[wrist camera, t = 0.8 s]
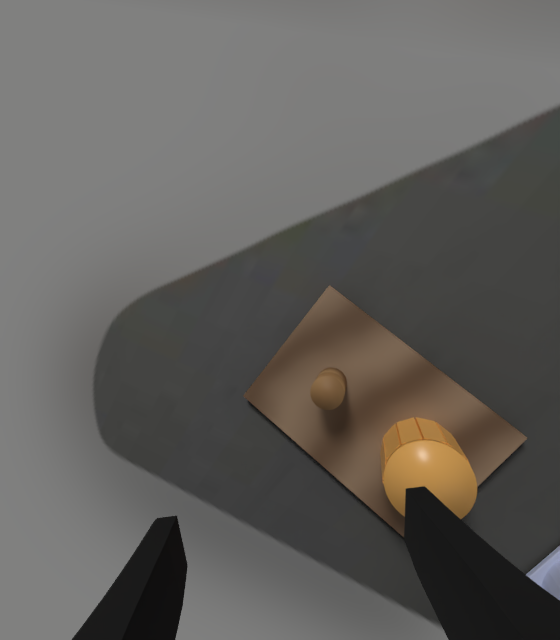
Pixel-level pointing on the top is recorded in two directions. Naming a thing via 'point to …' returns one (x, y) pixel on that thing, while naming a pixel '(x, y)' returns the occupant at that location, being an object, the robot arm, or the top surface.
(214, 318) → the top surface
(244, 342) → the top surface
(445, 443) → the grooved orange cylinder
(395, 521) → the post board
